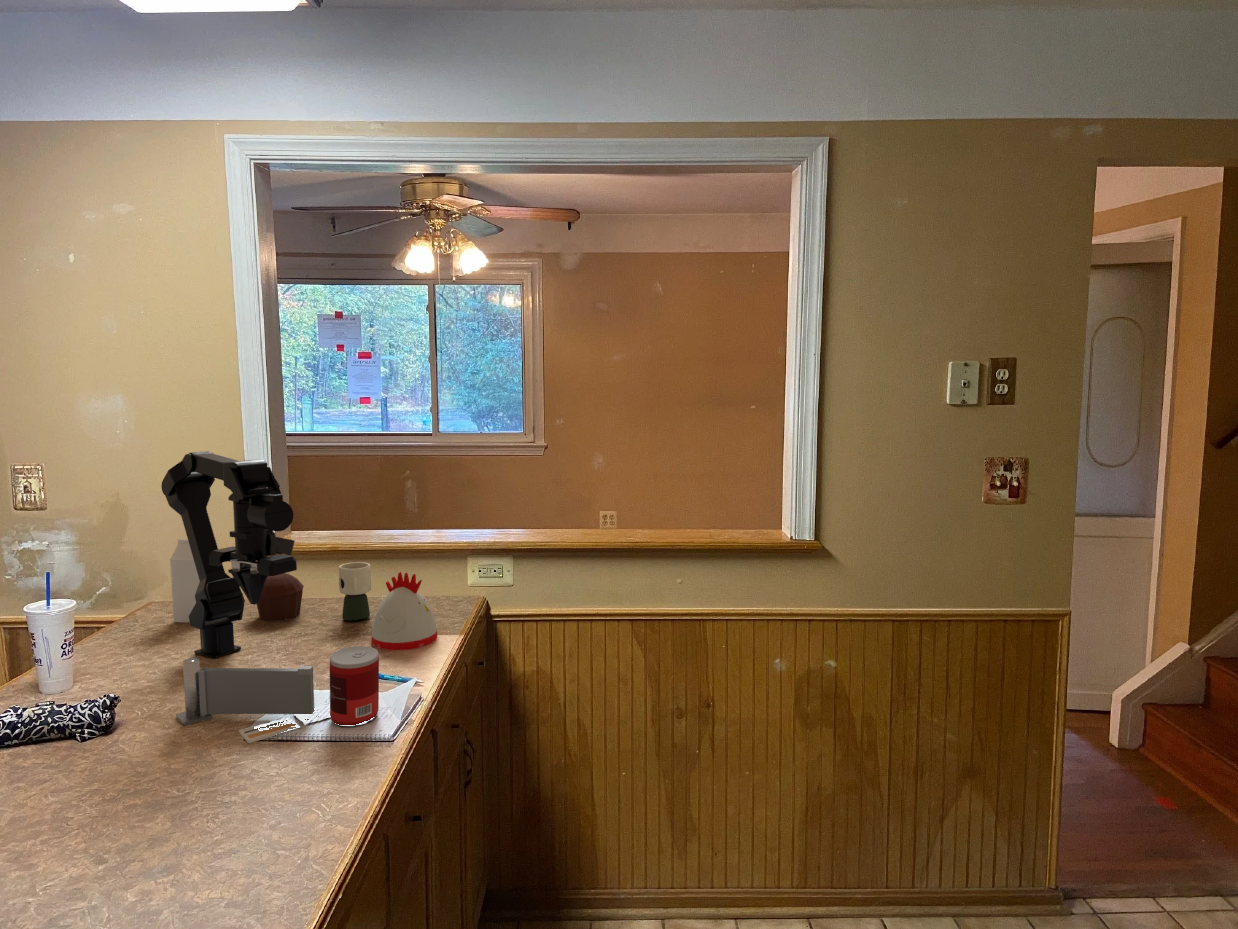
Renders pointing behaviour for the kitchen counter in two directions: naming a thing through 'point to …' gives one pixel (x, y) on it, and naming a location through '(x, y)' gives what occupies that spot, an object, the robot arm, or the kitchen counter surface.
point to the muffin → (280, 598)
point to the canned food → (354, 685)
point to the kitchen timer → (403, 617)
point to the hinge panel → (256, 690)
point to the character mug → (355, 589)
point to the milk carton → (183, 581)
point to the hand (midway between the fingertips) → (254, 603)
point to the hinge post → (191, 694)
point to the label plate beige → (263, 732)
